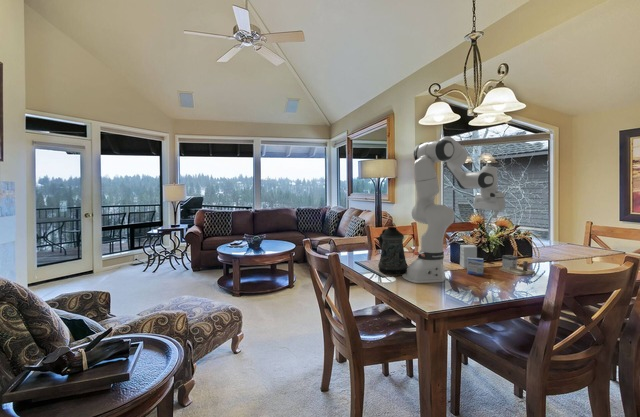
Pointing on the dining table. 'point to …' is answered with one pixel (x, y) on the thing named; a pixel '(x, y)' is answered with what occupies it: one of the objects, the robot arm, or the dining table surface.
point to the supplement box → (467, 254)
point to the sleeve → (509, 262)
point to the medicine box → (475, 266)
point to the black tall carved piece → (392, 252)
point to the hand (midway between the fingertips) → (488, 217)
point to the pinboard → (519, 270)
